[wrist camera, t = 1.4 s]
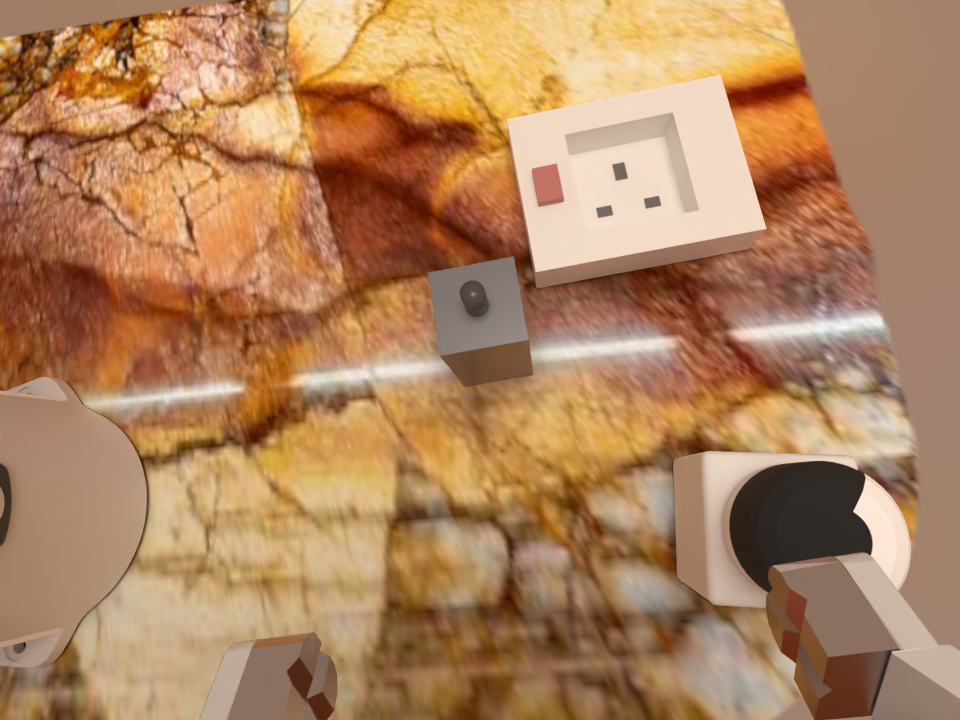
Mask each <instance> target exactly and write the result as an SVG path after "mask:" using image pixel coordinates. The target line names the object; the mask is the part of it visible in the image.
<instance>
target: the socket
mask: <svg viewBox="0 0 960 720" xmlns="http://www.w3.org/2000/svg"><path fill="white" fill-rule="evenodd" d="M507 126H508V135H509V145H510V150H511V156H512V161H513V166H514V172H515V177H516V182H517V188H518V193H519V198H520V204H521V209H522V214H523V219H524V225H525V230H526V235H527V241H528V246H529V251H530V257H531V262H532V267H533V273H534V278H535V283H536V289H537V288H543V287H548V286H553V285H559V284H564V283H570V282H575V281H580V280H586V279H591V278H597V277H602V276H607V275H613V274H618V273H624V272H629V271H634V270H640V269H645V268H650V267H656V266H661V265H667V264H672V263H677V262H683V261H688V260H694V259H699V258H704V257H710V256H715V255H720V254H726V253H731V252H737V251H742V250H747V249H750V247H751V246H752V245H753V244H754V243H755V242H756V240H757V239H758V238H759V237H760V236H761V234H762V233H763V232H764V231H765V230H766V226H765V223H764V219H763V216H762V213H761V209H760V206H759V203H758V199H757V196H756V192H755V189H754V186H753V182H752V179H751V176H750V172H749V169H748V166H747V162H746V159H745V156H744V152H743V149H742V146H741V142H740V139H739V136H738V132H737V129H736V126H735V122H734V119H733V115H732V112H731V109H730V105H729V102H728V99H727V95H726V92H725V89H724V85H723V82H722V79H721V75H716V76H711V77H706V78H702V79H697V80H692V81H687V82H682V83H678V84H673V85H668V86H663V87H659V88H654V89H649V90H644V91H640V92H635V93H630V94H625V95H621V96H616V97H611V98H606V99H601V100H597V101H592V102H587V103H582V104H578V105H573V106H568V107H563V108H559V109H554V110H549V111H544V112H540V113H535V114H530V115H525V116H521V117H516V118H511V119H507Z"/></svg>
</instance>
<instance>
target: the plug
mask: <svg viewBox="0 0 960 720" xmlns="http://www.w3.org/2000/svg"><path fill="white" fill-rule="evenodd" d="M428 275H429V282H430V289H431V296H432V303H433V310H434V317H435V324H436V331H437V338H438V346H439V353H440V356H441V358H442V359H443V360H444V361H445V363H446V364H447V365H448V366H449V367H450V369H451V370H452V371H453V372H454V374H455V375H456V376H457V377H458V378H459V380H460V381H461V382H462V383H463V385H464V386H465V387H466V386H471V385H477V384H483V383H489V382H494V381H500V380H506V379H512V378H517V377H523V376H529V375H533V371H532V363H531V355H530V347H529V339H528V333H527V328H526V322H525V317H524V311H523V306H522V300H521V295H520V289H519V284H518V278H517V272H516V267H515V261H514V256H513V257H508V258H503V259H498V260H493V261H487V262H482V263H477V264H472V265H466V266H461V267H456V268H451V269H445V270H440V271H435V272H430V273H428Z"/></svg>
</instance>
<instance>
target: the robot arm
mask: <svg viewBox="0 0 960 720" xmlns="http://www.w3.org/2000/svg"><path fill="white" fill-rule="evenodd" d="M146 507H147V490H146V481H145V476H144V471H143V468H142V464H141V461H140V459H139V456H138V454H137V452H136V450H135V448H134V446H133V445H132V443H131V442H130V440H129V439H128V437H127V436H126V435H125V434H124V433H123V432H122V430H121V429H120V428H118V427H117V426H116V425H115V424H114V423H112V422H111V421H110V420H108V419H107V418H105V417H103V416H101V415H99V414H97V413H96V412H94V411H92V410H90V409H88V408H87V407H85V406H84V405H83V404H82V403H81V402H80V400H79V398H78V397H77V395H76V394H75V393H74V391H73V390H72V388H71V387H70V386H69V385H68V384H67V383H66V382H65V381H64V380H62V379H60V378H53V377H41V378H37V379H35V380H32V381H30V382H27V383H25V384H22V385H20V386H17V387H15V388H12V389H9V390H7V391H0V666H10V667H21V668H36V667H40V666H45V665H49V664H51V663H53V662H54V661H55V660H56V659H57V658H58V657H59V656H60V655H61V653H62V652H63V651H64V649H65V647H66V646H67V644H68V642H69V640H70V638H71V637H72V635H73V633H74V631H75V629H76V627H77V625H78V623H79V622H80V620H81V619H82V618H83V617H84V616H85V615H86V614H87V613H88V612H89V611H90V610H91V609H92V608H93V607H94V606H95V605H96V604H98V603H99V602H100V601H101V600H102V599H103V598H104V597H105V596H106V595H107V594H108V593H109V592H110V591H111V590H112V589H113V587H114V586H115V585H116V584H117V582H118V581H119V580H120V579H121V577H122V576H123V574H124V573H125V571H126V569H127V568H128V566H129V564H130V562H131V560H132V558H133V556H134V554H135V552H136V549H137V547H138V544H139V541H140V539H141V535H142V532H143V527H144V523H145V517H146ZM768 580H769V582H770V584H771V586H772V588H773V589H772V590H771V591H770V592H769V593H768V594H767V595H766V612H767V617H768V622H769V626H770V628H771V631H772V634H773V636H774V639H775V641H776V643H777V645H778V647H779V649H780V651H781V652H782V653H783V654H784V655H786V656H787V657H788V658H790V659H791V660H792V661H794V662H795V663H796V668H795V675H794V680H795V682H796V684H797V686H798V688H799V690H800V692H801V694H802V696H803V698H804V700H805V702H806V704H807V706H808V708H809V710H810V712H811V714H812V716H813V718H814V720H830V719H840V718H852V717H862V716H872V717H871V719H872V720H960V650H958V649H957V648H955V647H953V646H952V645H950V644H945V645H939V644H938V643H937V642H936V640H935V639H934V638H933V636H932V635H931V634H930V632H929V631H928V630H927V628H926V627H925V626H924V624H923V623H922V622H921V620H920V619H919V618H918V616H917V615H916V614H915V612H914V611H913V610H912V609H911V607H910V606H909V604H908V603H907V602H906V601H905V599H904V598H903V597H902V595H901V594H900V593H899V591H898V590H897V589H896V587H895V586H894V585H893V583H892V582H891V581H890V579H889V578H888V577H887V575H886V574H885V573H884V571H883V570H882V569H881V567H880V566H879V565H878V564H877V562H876V561H875V560H874V558H873V557H871V556H870V555H868V554H867V553H862V552H859V553H853V554H847V555H841V556H835V557H830V556H828V557H822V558H816V559H810V560H804V561H798V562H791V563H785V564H779V565H773V566H772V567H771V568H770V569H769V573H768ZM24 642H25V643H26V647H25V648H24ZM320 646H321V641H320V640H319V638H318V637H317V635H316V634H315V633H314V632H312V633H305V634H297V635H290V636H282V637H275V638H268V639H257V640H250V641H244V642H237V643H232V645H231V646H230V647H229V648H228V650H227V651H226V652H225V654H224V656H223V659H222V662H221V664H220V667H219V669H218V672H217V675H216V677H215V680H214V682H213V685H212V688H211V690H210V693H209V695H208V698H207V701H206V703H205V706H204V708H203V711H202V714H201V716H200V719H199V720H327V719H328V718H329V717H330V715H331V714H332V713H333V711H334V709H335V703H336V697H337V673H336V669H335V665H334V663H333V661H332V659H331V658H330V656H328V655H326V654H324V653H322V652H320V651H319V650H320Z"/></svg>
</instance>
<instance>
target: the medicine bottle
mask: <svg viewBox="0 0 960 720" xmlns="http://www.w3.org/2000/svg"><path fill="white" fill-rule="evenodd" d="M673 475H674V503H675V532H676V560H677V577H678V579H679V580H680V581H681V582H682V583H683V584H685V585H686V586H688V587H689V588H690V589H692V590H693V591H695V592H696V593H697V594H699V595H700V596H702V597H703V598H704V599H706V600H707V601H709V602H710V603H711V604H714V605H720V606H737V607H753V608H766V595H767V594H768V593H769V592H770V591H771V590H772V589H773V588H772V586H771V584H770V582H769V580H768V573H769V569H770V568H771V567H772V566H773V565H779V564H785V563H791V562H798V561H804V560H810V559H816V558H822V557H828V556H830V557H835V556H841V555H847V554H853V553H859V552H862V553H867V554H868V555H870V556H871V557H873V558H874V560H875V561H876V562H877V564H878V565H879V566H880V567H881V569H882V570H883V571H884V573H885V574H886V575H887V577H888V578H889V579H890V581H891V582H892V583H893V585H894V586H895V587H896V589H897V590H898V591H899V589H900V588H901V586H902V584H903V582H904V580H905V578H906V575H907V573H908V569H909V564H910V557H911V545H910V537H909V532H908V528H907V525H906V522H905V520H904V517H903V515H902V513H901V511H900V509H899V508H898V506H897V504H896V503H895V502H894V500H893V499H892V497H891V496H890V495H889V494H888V493H887V492H886V491H885V489H884V488H883V487H881V486H880V485H879V484H878V483H877V482H876V481H875V480H873V479H872V478H870V477H869V476H867V475H866V474H864V473H862V472H860V471H858V468H857V462H856V460H855V459H854V458H853V457H851V456H848V455H821V454H788V453H755V452H722V451H707V452H702V453H698V454H693V455H688V456H684V457H679V458H676V459H675V460H674V462H673Z"/></svg>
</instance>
